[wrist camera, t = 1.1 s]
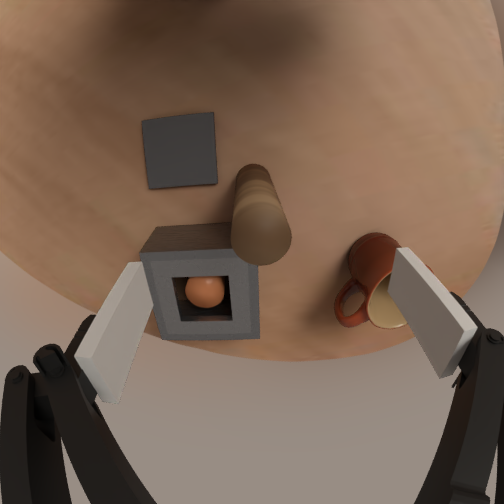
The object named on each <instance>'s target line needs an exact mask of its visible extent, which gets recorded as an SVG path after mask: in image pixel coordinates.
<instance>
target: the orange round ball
mask: <svg viewBox="0 0 504 504" xmlns="http://www.w3.org/2000/svg"><path fill="white" fill-rule="evenodd" d="M224 289H225V276H199V277H188V281H187V284H186V288H185V293H186V296H187V298H188V299H189V301H190V302H192V303H193V304H194V305H196V306H199V307H203V308H210V307H214V306H216V305H218V304H219V303H220V302H221V301H222V299H223V297H224Z"/></svg>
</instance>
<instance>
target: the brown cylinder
mask: <svg viewBox="0 0 504 504" xmlns="http://www.w3.org/2000/svg"><path fill="white" fill-rule="evenodd" d="M291 239H292V236H291V230H290V227H289V224H288V222H287V219H286V216H285V214H284V211H283V208H282V206H281V203H280V201H279V198H278V195H277V193H276V190H275V188H274V185H273V183H272V180H271V178H270V175H269V173H268V171H267V170H266V169H265V168H264V167H263V166H261V165H258V164H249V165H246V166H244V167H243V168H242V169H241V170H240V171H239V173H238V175H237V180H236V189H235V199H234V209H233V218H232V229H231V245H232V248H233V250H234V252H235V253H236V255H237V256H238V257H239V258H240V259H242V260H243V261H245V262H247V263H249V264H252V265H260V266H262V265H269V264H272V263H274V262H276V261H278V260H280V259H281V258H282V257H283V256H284V255H285V254H286V253H287V251H288V249H289V247H290V244H291Z"/></svg>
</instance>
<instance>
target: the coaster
mask: <svg viewBox="0 0 504 504" xmlns="http://www.w3.org/2000/svg"><path fill="white" fill-rule="evenodd" d="M142 130H143V140H144V150H145V159H146V168H147V176H148V184H149V189H153V188H163V187H174V186H186V185H200V184H215V183H218V175H217V160H216V144H215V127H214V112H210V113H198V114H188V115H179V116H171V117H164V118H157V119H150V120H144V121H142Z"/></svg>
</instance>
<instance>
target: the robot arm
mask: <svg viewBox="0 0 504 504" xmlns="http://www.w3.org/2000/svg"><path fill="white" fill-rule="evenodd" d="M388 293H389V294H390V296H391V298H392V299H393V301H394V302H395V304H396V305H397V307H398V309H399V310H400V312H401V313H402V315H403V316H404V318H405V320H406V321H407V323H408V325H409V326H410V328H411V330H412V331H413V333H414V335H415V336H416V338H417V339H418V341H419V343H420V345H421V347H422V348H423V350H424V352H425V353H426V355H427V357H428V359H429V361H430V362H431V364H432V366H433V368H434V370H435V371H436V373H437V375H438V377H439V379H440V378H444V377H447V376H450V375H453V373H454V371H455V370H456V367H457V366H459V367H460V369H461V372H460V374H459V376H458V377H457V379H456V380H455V382H454V383H453V385H452V388H454V386H455V385H456V384H457V385H456V389H455V393H454V397H453V401H452V405H451V409H450V412H449V416H448V419H447V422H446V425H445V429H444V432H443V435H442V438H441V441H440V444H439V446H438V449H437V452H436V455H435V457H434V460H433V462H432V465H431V467H430V470H429V472H428V475H427V477H426V479H425V481H424V484H423V486H422V488H421V490H420V492H419V494H418V497H417V499H416V501H415V503H414V504H490V497H488V496H487V495H486V494H485V491H486V487H487V483H488V480H489V476H490V473H491V469H492V464H493V461H494V456H495V451H496V446H498V456H497V457H498V458H497V483H496V494H495V504H504V336H503V335H502V334H501V333H500V332H499V331H497V330H494V329H491V328H489V329H486V328H485V327H484V326H483V324H482V323H481V322H480V321H479V319H478V318H477V317H476V316H475V315H474V313H473V312H472V311H470V308H469V307H468V306H467V305H466V304H465V302H464V301H463V300H462V299H461V298H460V297H459V296H458V295H456V294H455V293H453V292H449V291H448V290H447V289H446V288H445V287H444V286H443V284H442V283H441V282H440V281H439V280H438V279H437V278H436V277H435V275H434V274H433V273H432V272H431V271H430V270H429V269H428V268H427V267H426V266H425V264H424V263H423V262H422V261H421V260H420V259H419V258H418V257H417V256H416V255H415V254H414V253H413V252H412V251H411V250H410V249H409V248H408V247H406V248H396V253H395V258H394V263H393V268H392V273H391V278H390V282H389V287H388ZM152 308H153V301H152V298H151V294H150V291H149V287H148V283H147V279H146V276H145V272H144V268H143V264H142V262H128V264H127V266H126V267H125V269H124V270H123V272H122V273H121V275H120V277H119V278H118V280H117V281H116V283H115V285H114V286H113V288H112V290H111V291H110V293H109V295H108V296H107V298H106V300H105V301H104V303H103V305H102V306H101V308H100V310H99V311H98V313H97V315H90V316H88V317H87V318H86V319H85V320H84V321H83V322H82V324H81V325H80V327H79V329H78V331H77V332H76V334H75V336H74V338H73V339H72V341H71V343H70V344H69V346H68V348H67V350H66V352H65V353H63V351H62V349H61V348H60V346H58V345H56V344H48V345H45V346H43V347H41V348H40V349H39V350H38V351H37V352H36V353H35V355H34V357H33V363H34V364H35V366H36V367H37V369H38V370H39V372H40V373H32V374H31V373H30V372H29V370H28V369H27V368H26V367H25V366H23V365H19V366H16V367H14V368H12V369H11V370H10V371H9V372H8V374H7V376H6V379H5V385H4V392H3V400H2V410H1V422H0V483H1V495H2V504H72V502H71V498H70V493H69V488H68V483H67V478H66V472H65V466H64V460H63V452H62V444H61V438H62V441H63V443H64V446H65V449H66V451H67V454H68V456H69V458H70V461H71V463H72V465H73V468H74V470H75V472H76V475H77V477H78V479H79V481H80V483H81V485H82V487H83V489H84V492H85V493H86V495H87V497H88V499H89V501H90V503H91V504H157V503H156V502H155V501H154V499H153V498H152V497H151V495H150V494H149V492H148V491H147V490H146V488H145V487H144V485H143V484H142V482H141V481H140V479H139V478H138V476H137V475H136V473H135V472H134V470H133V469H132V467H131V465H130V464H129V462H128V460H127V459H126V457H125V456H124V454H123V452H122V450H121V449H120V447H119V445H118V444H117V442H116V440H115V438H114V437H113V435H112V433H111V431H110V429H109V427H108V425H107V423H106V422H105V419H104V417H103V415H102V414H101V411H100V409H99V407H98V405H97V404H96V402H95V398H96V395H97V394H98V395H99V397H100V398H101V400H102V401H103V402H108V403H115V404H119V402H120V398H121V395H122V392H123V389H124V386H125V383H126V380H127V377H128V374H129V371H130V368H131V365H132V362H133V360H134V357H135V354H136V351H137V348H138V345H139V342H140V340H141V337H142V334H143V332H144V329H145V326H146V324H147V321H148V318H149V316H150V313H151V311H152Z"/></svg>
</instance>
